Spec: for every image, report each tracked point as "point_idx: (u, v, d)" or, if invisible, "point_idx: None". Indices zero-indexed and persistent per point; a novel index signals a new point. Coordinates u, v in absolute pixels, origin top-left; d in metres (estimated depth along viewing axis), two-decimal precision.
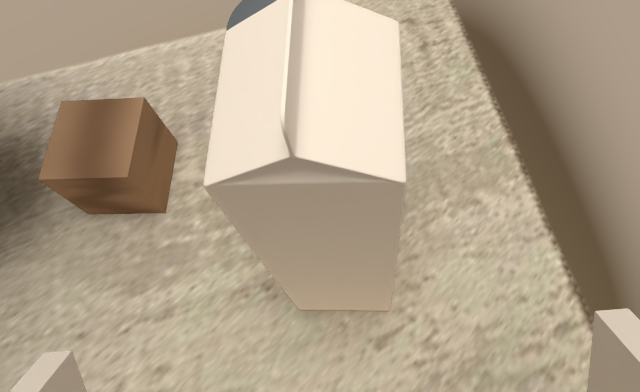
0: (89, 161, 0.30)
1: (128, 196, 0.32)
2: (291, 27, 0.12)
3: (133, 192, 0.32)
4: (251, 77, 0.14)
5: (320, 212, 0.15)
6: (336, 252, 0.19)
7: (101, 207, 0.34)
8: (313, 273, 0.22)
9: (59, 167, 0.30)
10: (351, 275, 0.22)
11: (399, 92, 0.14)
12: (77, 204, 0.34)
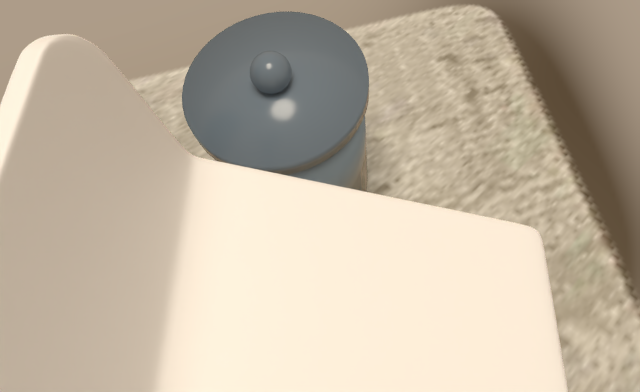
0: None
1: None
2: None
3: None
4: None
5: None
6: None
7: None
8: None
9: None
10: None
11: None
12: None
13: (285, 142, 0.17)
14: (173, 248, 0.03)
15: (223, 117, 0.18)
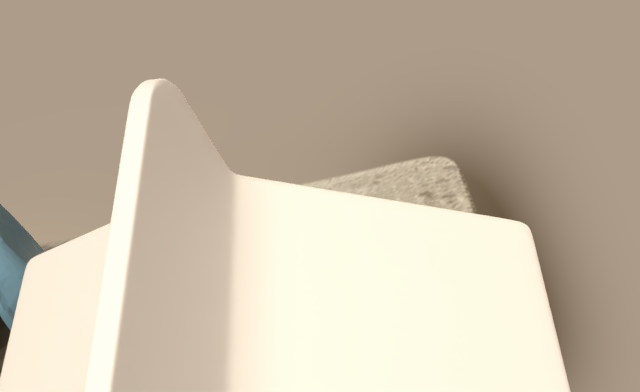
0: None
1: None
2: None
3: None
4: None
5: None
6: None
7: None
8: None
9: None
10: None
11: None
12: None
13: None
14: (228, 257, 0.04)
15: None
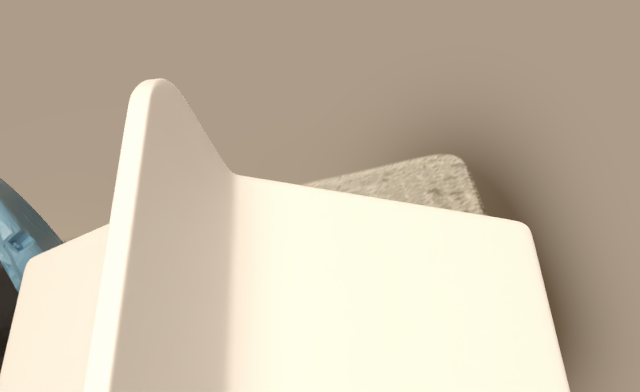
0: None
1: None
2: None
3: None
4: None
5: None
6: None
7: None
8: None
9: None
10: None
11: None
12: None
13: None
14: (228, 257, 0.04)
15: None
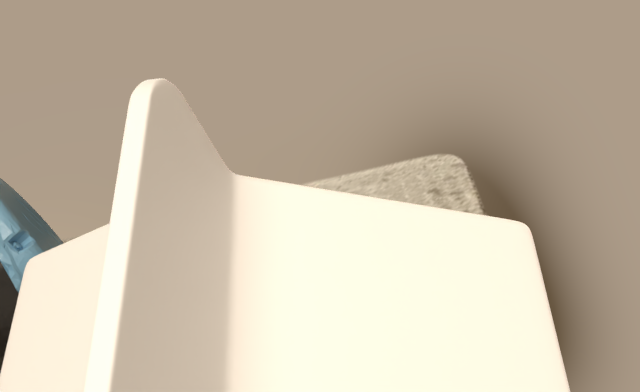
0: None
1: None
2: None
3: None
4: None
5: None
6: None
7: None
8: None
9: None
10: None
11: None
12: None
13: None
14: (228, 257, 0.04)
15: None
